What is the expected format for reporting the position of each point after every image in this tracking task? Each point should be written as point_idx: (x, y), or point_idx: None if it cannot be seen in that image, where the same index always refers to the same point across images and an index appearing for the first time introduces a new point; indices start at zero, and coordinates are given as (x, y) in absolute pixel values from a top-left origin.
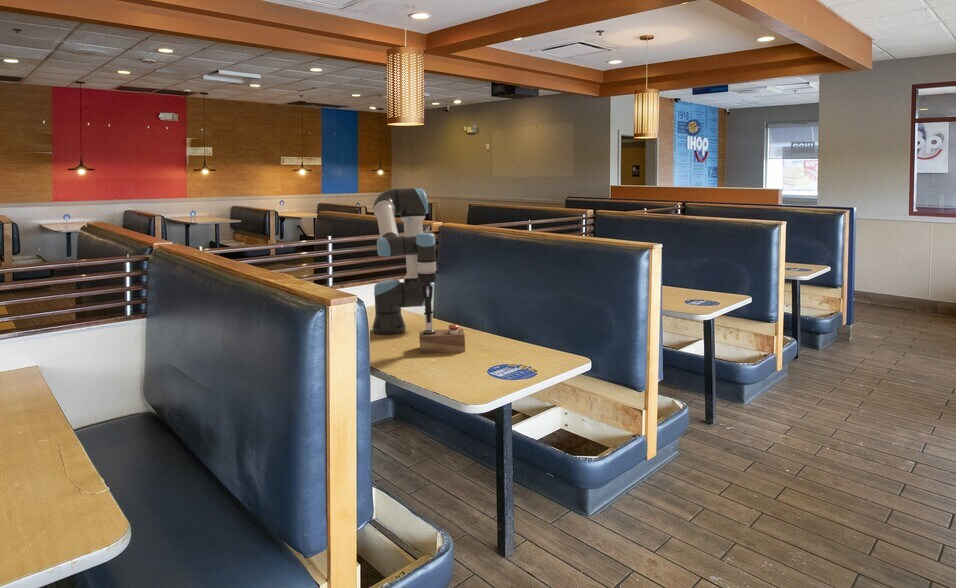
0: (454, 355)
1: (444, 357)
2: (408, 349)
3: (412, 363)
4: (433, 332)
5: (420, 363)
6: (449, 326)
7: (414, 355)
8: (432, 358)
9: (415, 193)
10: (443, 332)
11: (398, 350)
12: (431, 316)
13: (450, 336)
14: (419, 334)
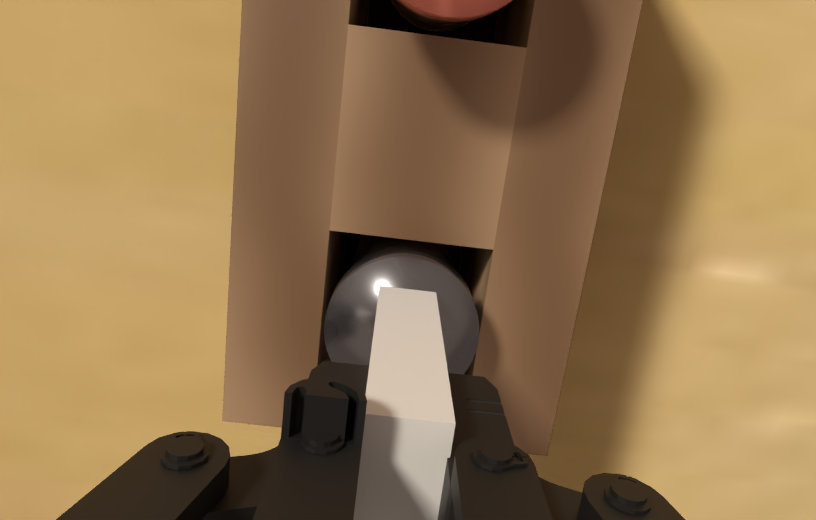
0: (679, 32)
1: (708, 150)
2: None
3: (768, 449)
4: (455, 271)
5: (800, 388)
6: (500, 7)
7: None
8: (691, 268)
9: None
10: (423, 113)
11: None
12: (452, 407)
13: (628, 37)
14: None
